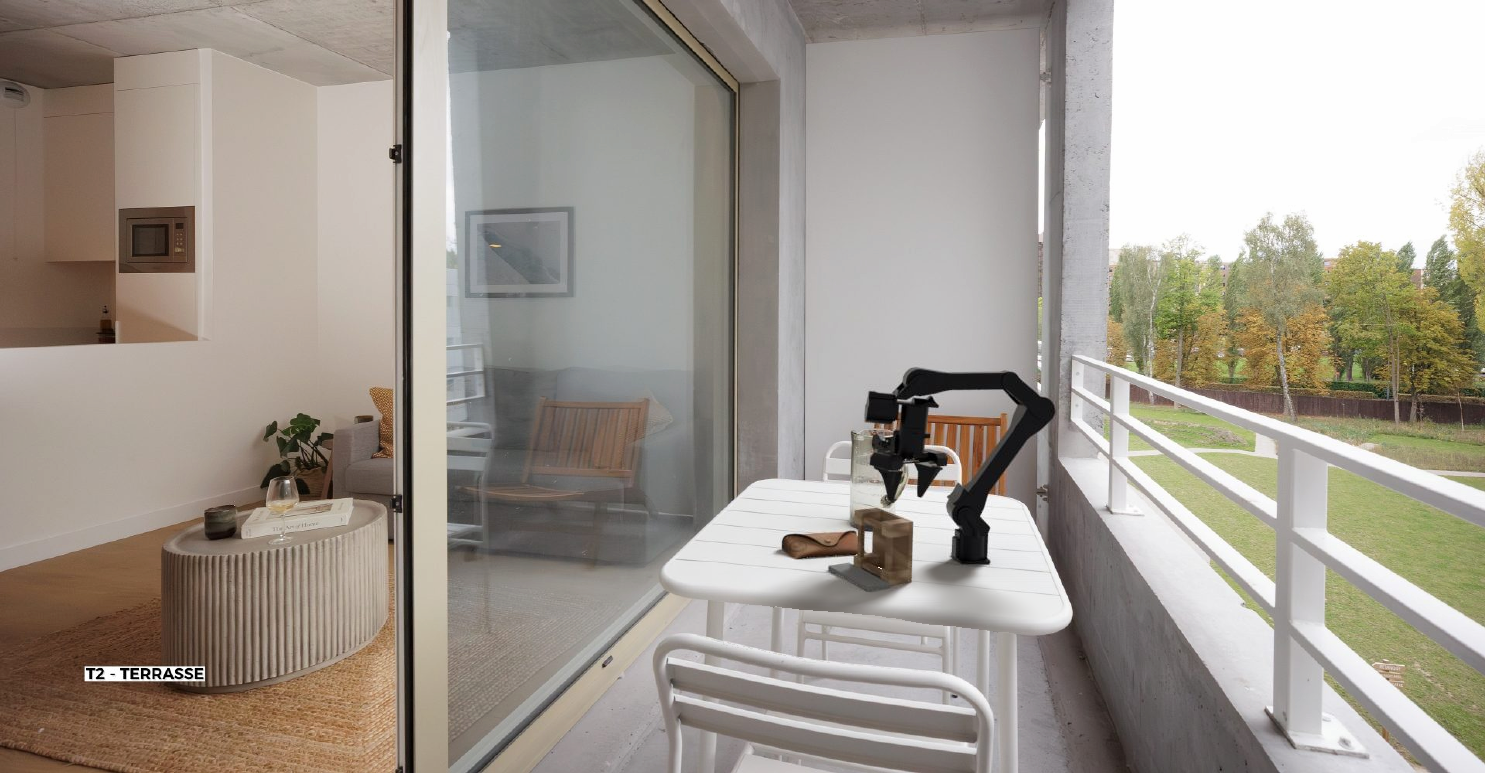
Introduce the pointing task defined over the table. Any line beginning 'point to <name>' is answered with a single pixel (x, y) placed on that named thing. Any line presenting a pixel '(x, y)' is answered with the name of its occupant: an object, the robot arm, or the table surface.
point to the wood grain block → (885, 545)
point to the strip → (859, 576)
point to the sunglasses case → (820, 544)
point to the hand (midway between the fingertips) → (905, 498)
